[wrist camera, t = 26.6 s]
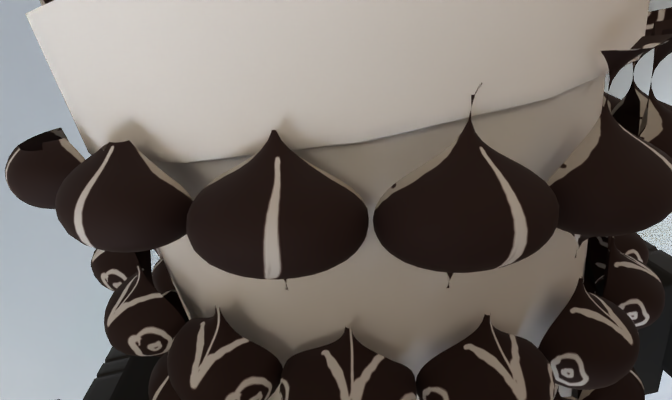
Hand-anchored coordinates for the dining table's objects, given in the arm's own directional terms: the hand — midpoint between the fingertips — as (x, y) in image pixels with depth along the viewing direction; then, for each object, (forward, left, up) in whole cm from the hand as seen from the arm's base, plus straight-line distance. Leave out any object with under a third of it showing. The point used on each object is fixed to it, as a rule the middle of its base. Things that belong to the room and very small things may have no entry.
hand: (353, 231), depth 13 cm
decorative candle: (0, -14, +5) cm, 15 cm away
